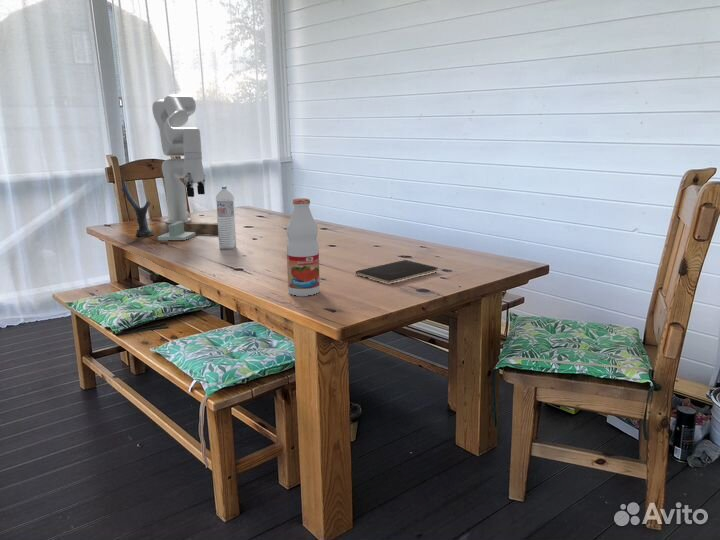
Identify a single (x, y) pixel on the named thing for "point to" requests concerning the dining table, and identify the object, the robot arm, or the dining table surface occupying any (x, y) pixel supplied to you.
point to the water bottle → (226, 219)
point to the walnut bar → (202, 228)
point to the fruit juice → (302, 251)
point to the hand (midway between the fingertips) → (196, 195)
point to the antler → (138, 213)
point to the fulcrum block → (176, 232)
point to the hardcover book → (396, 271)
